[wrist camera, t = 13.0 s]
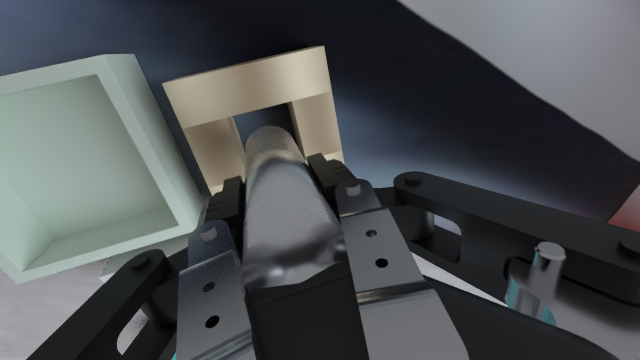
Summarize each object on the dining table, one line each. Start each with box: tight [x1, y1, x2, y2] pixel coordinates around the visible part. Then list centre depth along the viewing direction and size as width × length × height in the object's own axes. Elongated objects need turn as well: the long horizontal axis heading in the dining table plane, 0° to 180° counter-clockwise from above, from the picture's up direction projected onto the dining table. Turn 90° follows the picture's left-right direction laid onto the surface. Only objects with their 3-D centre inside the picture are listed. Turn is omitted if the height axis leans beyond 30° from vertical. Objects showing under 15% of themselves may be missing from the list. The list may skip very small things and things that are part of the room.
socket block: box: [162, 46, 344, 196], centre depth 21 cm, size 10×10×4 cm
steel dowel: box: [242, 126, 348, 292], centre depth 13 cm, size 3×3×11 cm
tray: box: [0, 54, 204, 284], centre depth 18 cm, size 12×12×4 cm
